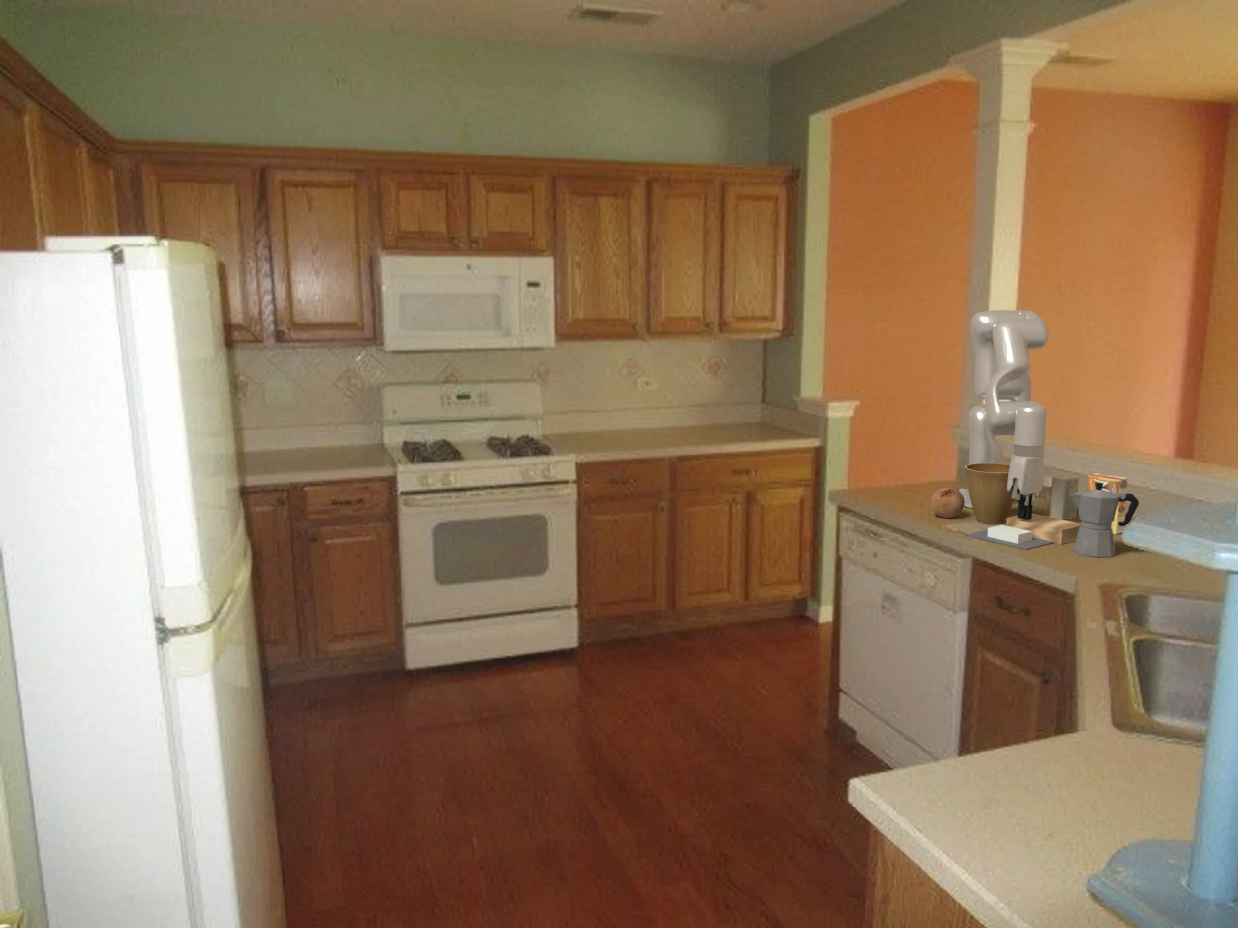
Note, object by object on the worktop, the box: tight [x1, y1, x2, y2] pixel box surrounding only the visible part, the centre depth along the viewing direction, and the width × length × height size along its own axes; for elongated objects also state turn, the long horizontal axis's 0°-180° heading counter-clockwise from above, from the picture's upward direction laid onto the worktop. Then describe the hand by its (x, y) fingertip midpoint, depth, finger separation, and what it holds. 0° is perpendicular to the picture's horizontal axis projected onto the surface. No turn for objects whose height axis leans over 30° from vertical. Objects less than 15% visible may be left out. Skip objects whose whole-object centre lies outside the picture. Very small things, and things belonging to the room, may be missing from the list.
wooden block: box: [1005, 513, 1081, 546], centre depth 238 cm, size 16×10×4 cm, turn 32°
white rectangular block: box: [987, 524, 1032, 544], centre depth 235 cm, size 9×6×2 cm, turn 32°
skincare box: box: [1049, 474, 1080, 521], centre depth 257 cm, size 6×4×12 cm
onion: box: [930, 487, 965, 519], centre depth 261 cm, size 10×9×10 cm
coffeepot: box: [1069, 482, 1140, 559], centre depth 220 cm, size 15×9×18 cm, turn 69°
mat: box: [965, 528, 1055, 551], centre depth 236 cm, size 18×12×1 cm, turn 32°
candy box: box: [1086, 472, 1128, 535], centre depth 242 cm, size 9×4×15 cm, turn 33°
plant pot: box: [964, 462, 1015, 525], centre depth 254 cm, size 15×15×16 cm
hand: (1024, 518), depth 238 cm, fingers closed
